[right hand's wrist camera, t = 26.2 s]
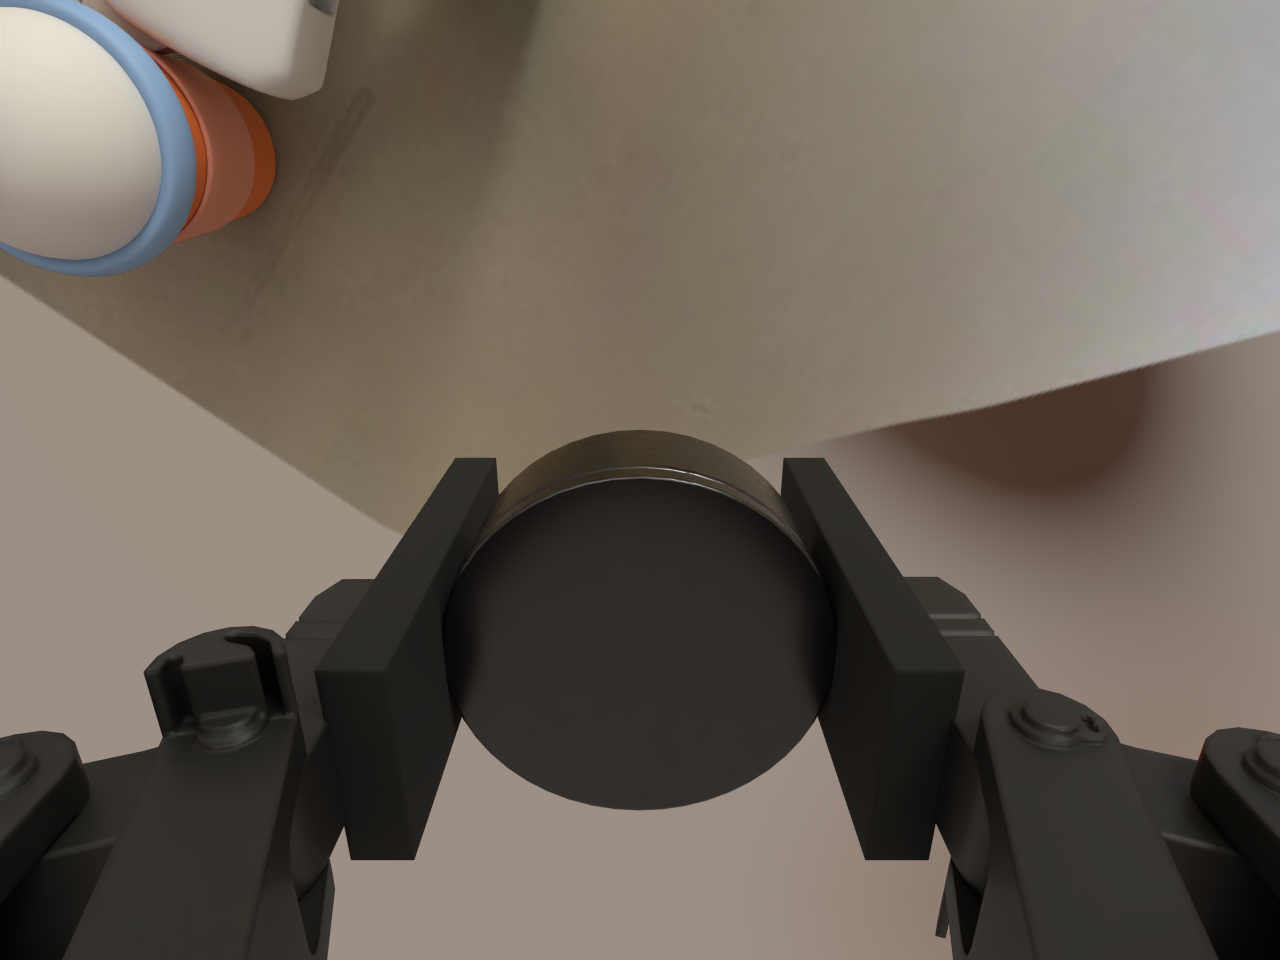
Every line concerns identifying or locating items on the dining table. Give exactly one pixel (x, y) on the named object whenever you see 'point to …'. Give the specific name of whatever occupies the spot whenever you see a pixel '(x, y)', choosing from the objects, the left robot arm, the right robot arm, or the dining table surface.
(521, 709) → the lid
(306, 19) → the left robot arm
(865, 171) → the dining table surface
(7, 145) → the cup with straw
